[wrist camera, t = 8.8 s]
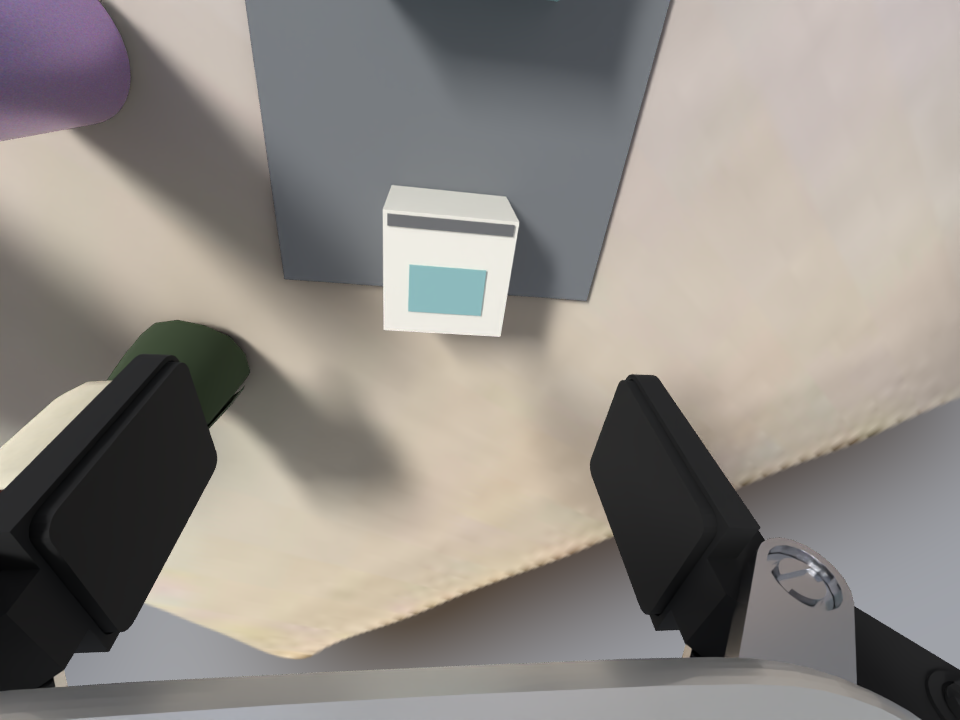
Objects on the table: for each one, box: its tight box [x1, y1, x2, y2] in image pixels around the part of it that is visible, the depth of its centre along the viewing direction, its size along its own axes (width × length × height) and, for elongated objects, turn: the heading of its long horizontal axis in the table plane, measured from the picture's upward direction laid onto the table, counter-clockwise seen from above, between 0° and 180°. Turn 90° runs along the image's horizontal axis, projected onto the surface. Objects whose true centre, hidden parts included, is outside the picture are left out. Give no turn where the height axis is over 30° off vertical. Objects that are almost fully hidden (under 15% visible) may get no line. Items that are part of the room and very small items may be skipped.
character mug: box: [0, 320, 250, 493], centre depth 22 cm, size 11×7×13 cm, turn 150°
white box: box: [383, 185, 519, 337], centre depth 23 cm, size 6×6×5 cm
